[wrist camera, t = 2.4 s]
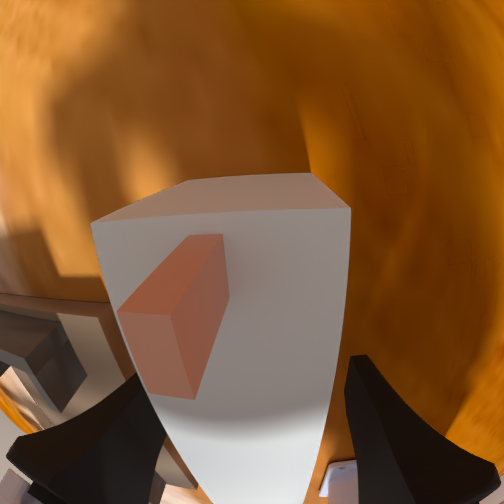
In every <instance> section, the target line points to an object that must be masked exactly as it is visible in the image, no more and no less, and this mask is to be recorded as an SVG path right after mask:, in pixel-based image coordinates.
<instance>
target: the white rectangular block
mask: <svg viewBox="0 0 504 504" xmlns="http://www.w3.org/2000/svg"><path fill="white" fill-rule="evenodd" d="M90 226H91V230H92V235H93V240H94V244H95V248H96V252H97V256H98V260H99V264H100V268H101V272H102V275H103V279H104V282H105V286H106V289H107V293H108V296H109V299H110V302H111V305H112V308H113V311H114V314H115V317H116V320H117V323H118V326H119V329H120V331H121V334H122V337H123V339H124V342H125V345H126V347H127V350H128V352H129V355H130V357H131V360H132V362H133V364H134V367H135V369H136V371H137V374H138V376H139V378H140V380H141V383H142V385H143V387H144V389H145V391H146V393H147V395H148V397H149V399H150V402H151V404H152V406H153V408H154V410H155V411H156V413H157V415H158V417H159V419H160V421H161V423H162V425H163V427H164V428H165V430H166V432H167V434H168V436H169V437H170V439H171V441H172V443H173V444H174V446H175V448H176V449H177V451H178V453H179V454H180V456H181V458H182V459H183V461H184V462H185V464H186V465H187V467H188V469H189V470H190V472H191V473H192V475H193V476H194V478H195V479H196V481H197V482H198V483H199V485H200V486H201V488H202V489H203V491H204V492H205V493H206V495H207V496H208V497H209V499H210V500H211V501H212V503H213V504H303V501H304V498H305V495H306V492H307V489H308V486H309V483H310V479H311V476H312V473H313V469H314V466H315V462H316V459H317V455H318V451H319V447H320V443H321V439H322V435H323V431H324V427H325V423H326V418H327V414H328V409H329V404H330V399H331V394H332V389H333V384H334V378H335V373H336V367H337V361H338V355H339V348H340V341H341V334H342V326H343V318H344V309H345V300H346V290H347V279H348V266H349V250H350V230H351V208H350V207H349V206H348V205H347V204H346V203H345V202H344V201H343V200H341V199H340V198H339V197H338V196H337V195H336V194H335V193H334V192H333V191H332V190H330V189H329V188H328V187H327V186H326V185H325V184H324V183H322V182H321V181H320V180H319V179H318V178H317V177H316V176H314V175H313V174H312V173H281V174H259V175H242V176H228V177H215V178H204V179H193V180H187V181H185V182H182V183H180V184H177V185H174V186H172V187H169V188H167V189H165V190H162V191H160V192H157V193H155V194H153V195H150V196H148V197H145V198H143V199H141V200H139V201H136V202H134V203H132V204H130V205H127V206H125V207H123V208H121V209H119V210H116V211H114V212H112V213H110V214H108V215H106V216H104V217H102V218H100V219H97V220H95V221H93V222H91V223H90Z"/></svg>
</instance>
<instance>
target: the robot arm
mask: <svg viewBox="0 0 504 504" xmlns="http://www.w3.org/2000/svg"><path fill="white" fill-rule="evenodd" d="M344 395H345V405H346V414H347V419H348V424H349V428H350V433H351V438H352V442H353V447H354V452H355V457H356V460H351V461H343V462H335V463H331V464H330V465H329V466H328V468H327V471H326V474H325V477H324V480H323V483H322V486H321V488H320V491H319V496H320V497H327V496H328V504H479V501H481V500H482V499H484V498H485V497H487V496H488V495H489V494H491V493H492V492H493V491H495V490H496V489H497V488H498V487H499V486H500V485H501V481H500V477H499V474H498V471H497V469H496V467H495V465H494V463H491V462H489V461H487V460H484V459H482V458H480V457H477V456H475V455H473V454H471V453H469V452H467V451H466V450H464V449H462V448H460V447H458V446H457V445H455V444H454V443H452V442H451V441H449V440H448V439H446V438H445V437H444V436H442V435H441V434H439V433H438V432H437V431H435V430H434V429H433V428H432V427H430V426H429V425H428V424H427V423H426V422H425V421H424V420H422V419H421V418H420V417H419V416H418V415H417V414H416V413H415V412H414V411H413V410H412V409H411V408H410V407H409V406H408V405H407V404H406V403H405V402H404V401H403V400H402V398H401V397H400V396H399V395H398V394H397V393H396V392H395V390H394V389H393V388H392V387H391V386H390V384H389V383H388V382H387V381H386V380H385V378H384V377H383V376H382V374H381V373H380V372H379V371H378V369H377V368H376V367H375V365H374V364H373V362H372V361H371V360H370V358H369V357H368V356H367V355H357V356H351V357H350V362H349V368H348V374H347V379H346V384H345V389H344ZM166 436H167V432H166V430H165V428H164V427H163V425H162V423H161V421H160V419H159V417H158V415H157V413H156V411H155V410H154V408H153V406H152V404H151V402H150V399H149V397H148V395H147V393H146V391H145V389H144V387H143V385H142V383H141V380H140V378H139V376H138V374H137V372H136V373H135V374H134V375H132V376H131V377H130V378H129V379H128V380H127V381H125V382H124V383H123V384H122V385H121V386H120V387H118V388H117V389H116V390H114V391H113V392H112V393H111V394H109V395H108V396H107V397H105V398H104V399H103V400H101V401H100V402H99V403H97V404H96V405H94V406H93V407H91V408H89V409H88V410H86V411H85V412H83V413H81V414H79V415H77V416H75V417H73V418H71V419H69V420H67V421H65V422H63V423H61V424H59V425H56V426H54V427H51V428H48V429H46V430H43V431H39V432H36V433H32V434H28V435H24V436H19V437H18V438H17V439H16V441H15V442H14V444H13V445H12V447H11V448H10V450H9V451H8V453H7V455H6V458H7V459H8V460H9V461H10V462H11V463H12V464H13V465H14V466H16V467H17V468H18V469H19V470H20V471H21V472H23V473H24V474H25V475H26V476H27V477H29V478H30V479H31V480H32V481H33V483H32V485H30V484H29V483H28V482H27V481H25V480H24V479H23V478H21V477H20V476H19V475H17V474H16V473H15V472H14V471H13V470H11V469H8V471H7V473H6V474H5V476H4V477H3V479H2V481H1V483H0V504H149V498H150V491H151V486H152V481H153V476H154V472H155V468H156V464H157V460H158V457H159V454H160V451H161V448H162V446H163V443H164V441H165V438H166ZM500 504H504V501H503V502H501V503H500Z"/></svg>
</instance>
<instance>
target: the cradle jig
mask: <svg viewBox="0 0 504 504" xmlns="http://www.w3.org/2000/svg"><path fill="white" fill-rule="evenodd" d="M10 366H12V368H13V370H14V371H15V373H16V375H17V376H18V378H19V379H20V381H21V382H22V384H23V385H24V387H25V388H26V390H27V391H28V392H29V394H30V395H31V397H32V398H33V399H34V401H35V402H36V404H37V405H38V406H39V408H40V409H41V410H42V411H43V413H44V414H45V415H46V416H47V418H48V419H49V420H50V421H51V423H52V424H53V425H54V426H56V425H59V424H61V423H63V422H65V421H67V420H69V419H71V418H73V417H75V416H77V415H79V414H81V413H83V412H85V411H86V410H88V409H89V408H91V407H93V406H94V405H96V404H97V403H99V402H100V401H101V400H103V399H104V398H105V397H107V396H108V395H109V394H111V393H112V392H113V391H114V390H116V389H117V388H118V387H120V386H121V385H122V384H123V383H124V382H125V381H127V380H128V379H129V378H130V377H131V376H132V375H134V374H135V373H136V372H137V371H136V369H135V367H134V364H133V362H132V360H131V357H130V355H129V352H128V350H127V347H126V345H125V342H124V339H123V337H122V334H121V331H120V329H119V326H118V323H117V320H116V317H115V314H114V311H113V308H112V305H111V303H99V302H84V301H70V300H58V299H47V298H37V297H28V296H19V295H11V294H3V293H0V377H1V376H2V375H3V373H4V372H5V371H6V370H7V369H8V368H9V367H10ZM166 484H169V485H173V486H178V487H183V488H188V489H193V490H197V487H198V482H197V481H196V479H195V478H194V476H193V475H192V473H191V472H190V470H189V469H188V467H187V465H186V464H185V462H184V461H183V459H182V458H181V456H180V454H179V453H178V451H177V449H176V448H175V446H174V444H173V443H172V441H171V439H170V437H169V436H168V434H167V436H166V438H165V441H164V443H163V446H162V448H161V451H160V454H159V457H158V460H157V464H156V468H155V472H154V476H153V481H152V486H151V491H150V498H149V504H160V501H161V498H162V494H163V491H164V488H165V485H166Z"/></svg>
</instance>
